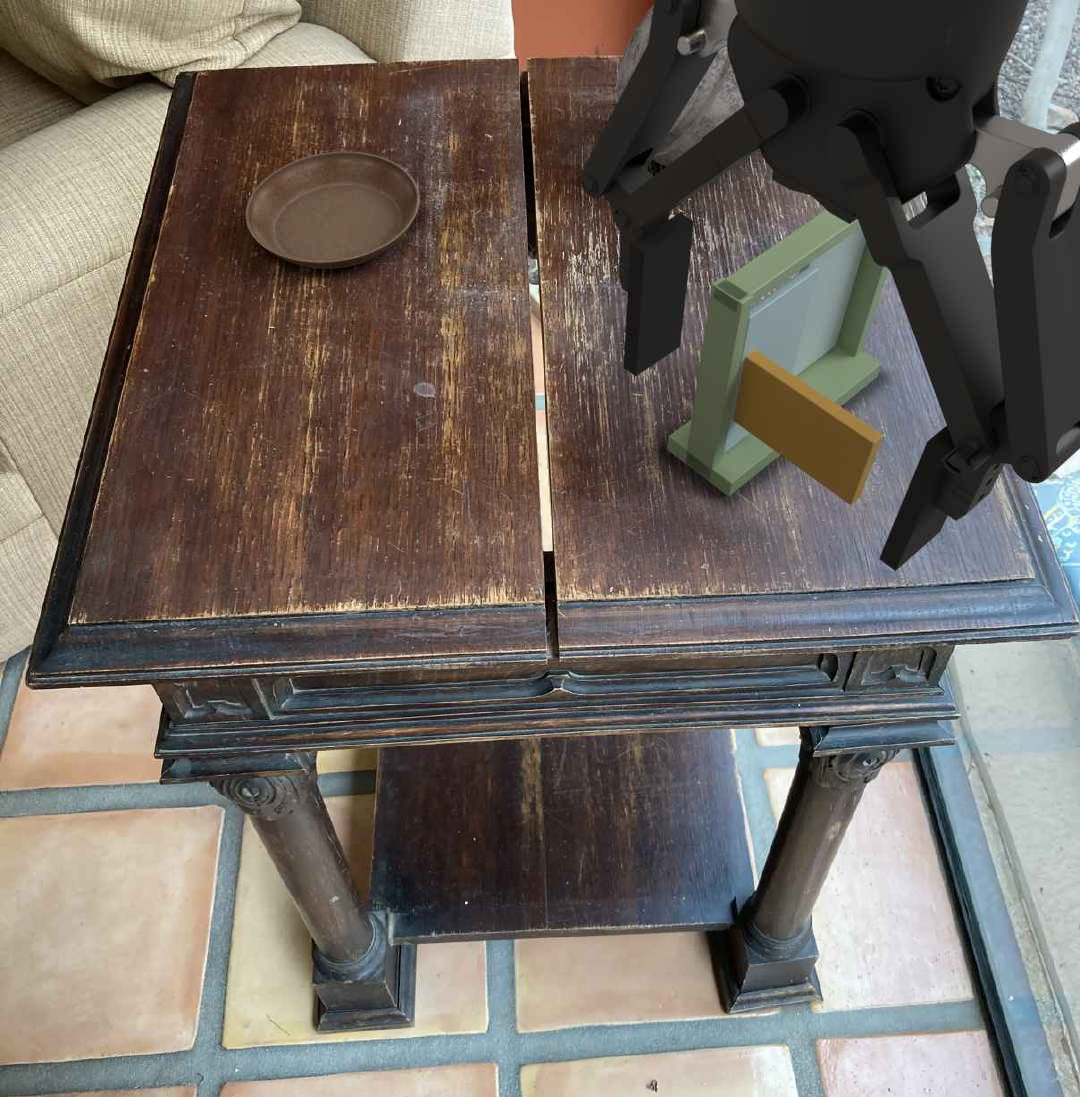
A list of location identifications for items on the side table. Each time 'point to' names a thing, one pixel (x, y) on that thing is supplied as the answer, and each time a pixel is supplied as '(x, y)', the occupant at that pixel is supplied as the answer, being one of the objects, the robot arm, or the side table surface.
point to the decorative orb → (704, 107)
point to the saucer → (333, 209)
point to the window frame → (823, 353)
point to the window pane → (796, 398)
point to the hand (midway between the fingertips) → (771, 445)
